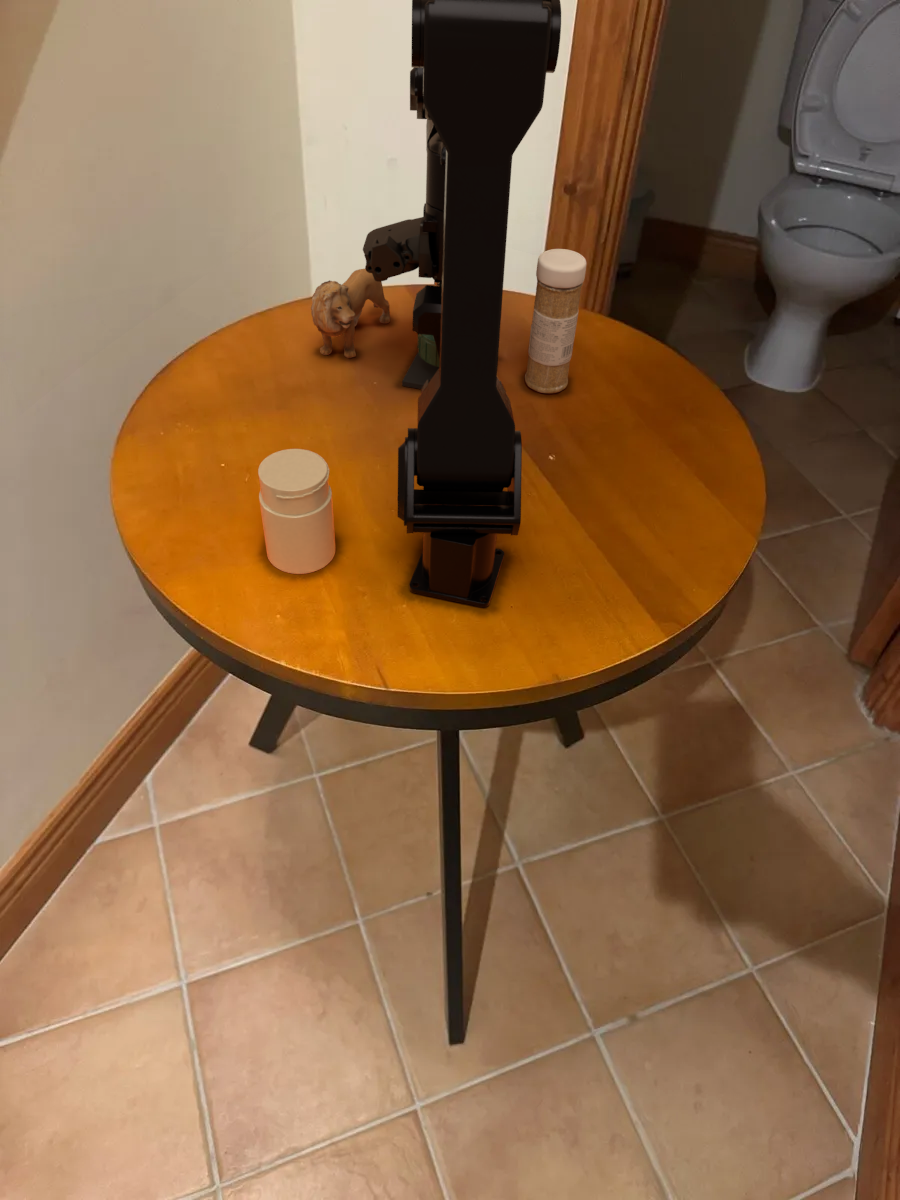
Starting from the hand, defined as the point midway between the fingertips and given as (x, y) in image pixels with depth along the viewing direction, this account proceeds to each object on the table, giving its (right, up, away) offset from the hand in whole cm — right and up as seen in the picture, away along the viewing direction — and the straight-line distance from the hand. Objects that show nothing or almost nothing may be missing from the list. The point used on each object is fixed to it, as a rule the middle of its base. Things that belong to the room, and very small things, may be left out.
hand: (450, 354), depth 93 cm
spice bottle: (+10, -3, +1) cm, 10 cm away
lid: (0, +2, -2) cm, 3 cm away
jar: (-12, -21, -18) cm, 30 cm away
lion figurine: (-10, +2, +5) cm, 12 cm away
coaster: (0, -1, +1) cm, 2 cm away
